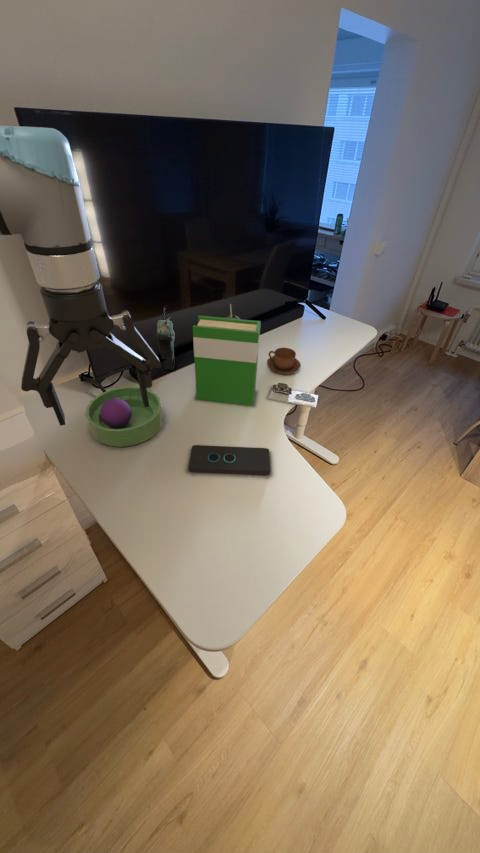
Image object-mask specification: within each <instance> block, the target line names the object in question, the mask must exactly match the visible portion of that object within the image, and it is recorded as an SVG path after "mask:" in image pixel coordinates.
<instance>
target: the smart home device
mask: <svg viewBox="0 0 480 853" xmlns="http://www.w3.org/2000/svg"><path fill="white" fill-rule="evenodd" d="M188 472H190V473H201V474H202V473H204V474H225V475H247V476H248V475H249V476H269V475H271V474H270V473H271V458H270V449H269V448H267V447H250V446H249V447H248V446H230V445H229V446H225V445H205V444H193V445H192V446H191V451H190V457H189V462H188Z"/></svg>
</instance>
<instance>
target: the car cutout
mask: <svg viewBox="0 0 480 853" xmlns="http://www.w3.org/2000/svg"><path fill="white" fill-rule="evenodd" d="M318 399H319V394H314V393H309V392H304V391H299V390H293V389H292V388H291V387H290V386H289V385H288V384H287V383H284V382H278V383H277V384H272V387H271V391H270V392H269V395H268V400H273V401H277V402H283V403H287V404H293V405H298V406H303V407H308V408H313V409H316V408H317V404H318Z"/></svg>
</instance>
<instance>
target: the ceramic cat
mask: <svg viewBox="0 0 480 853" xmlns="http://www.w3.org/2000/svg"><path fill="white" fill-rule="evenodd" d="M162 312H163V313H164V319H165V313H166V308H165V307H164V306H163V311H162ZM170 318H171V317H169V318H168V319H166V320H161V319H159V320H157V322H156V339H157V338H158V339H157V343H159V344H158V348H159V353H160V357H161V360H162V359H165V360H166V359H167V360H170V361H171V362H173V359H174V360H175V349H174V341H175V332H174V330H173V323H172V321H170ZM174 368H175V366H174V367H173V368H168V369H164V370H166V371H172V370H175V369H174Z"/></svg>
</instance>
